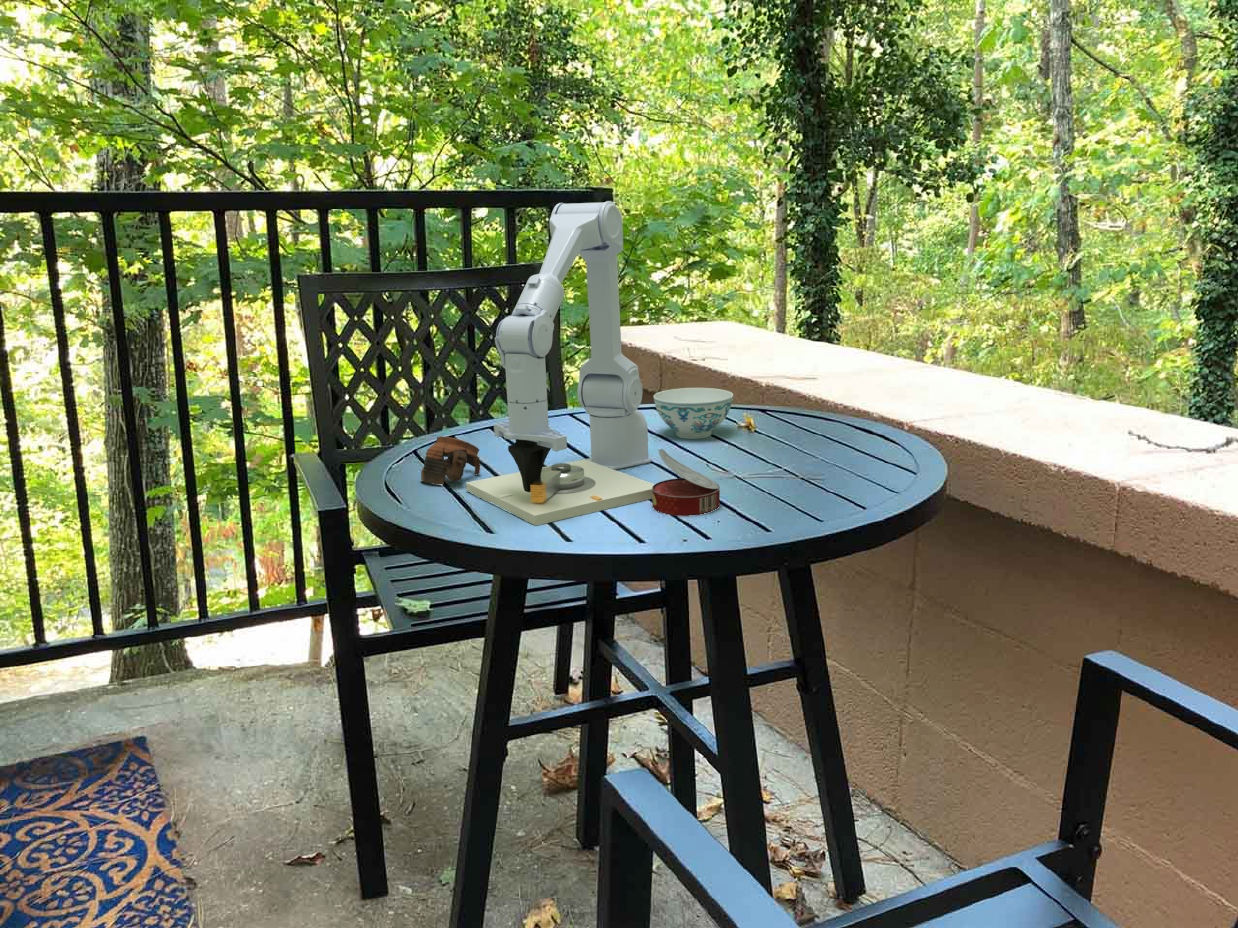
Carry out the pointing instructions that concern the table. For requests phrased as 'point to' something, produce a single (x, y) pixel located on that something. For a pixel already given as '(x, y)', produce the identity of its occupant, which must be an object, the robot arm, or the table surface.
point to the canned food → (685, 491)
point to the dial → (556, 481)
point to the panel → (564, 494)
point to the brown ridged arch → (449, 460)
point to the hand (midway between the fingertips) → (532, 490)
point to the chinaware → (693, 410)
